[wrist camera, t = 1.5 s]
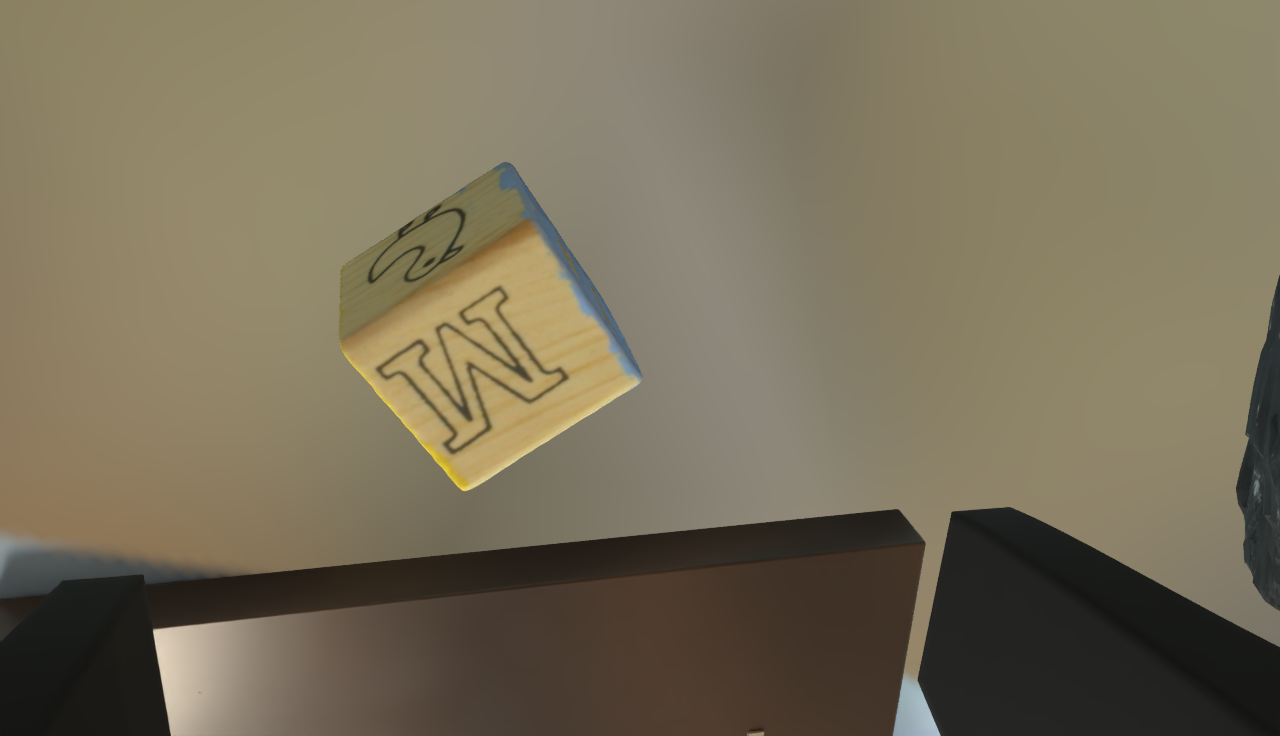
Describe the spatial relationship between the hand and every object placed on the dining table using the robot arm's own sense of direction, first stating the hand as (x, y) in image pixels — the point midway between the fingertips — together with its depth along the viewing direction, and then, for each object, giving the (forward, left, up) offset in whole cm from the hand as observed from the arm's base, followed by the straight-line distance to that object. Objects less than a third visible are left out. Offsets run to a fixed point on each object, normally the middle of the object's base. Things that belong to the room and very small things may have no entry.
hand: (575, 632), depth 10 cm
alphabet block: (0, 0, -9) cm, 9 cm away
